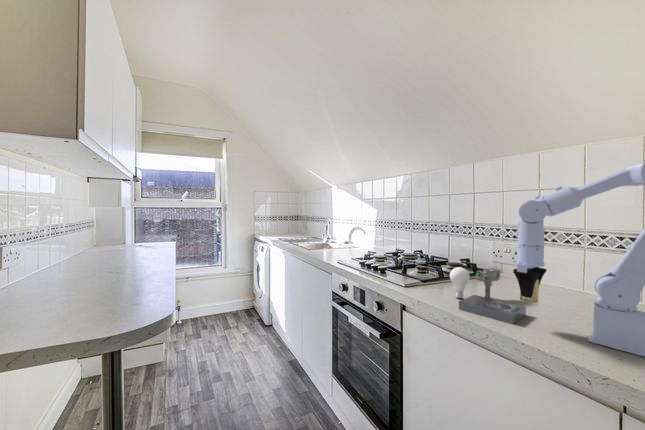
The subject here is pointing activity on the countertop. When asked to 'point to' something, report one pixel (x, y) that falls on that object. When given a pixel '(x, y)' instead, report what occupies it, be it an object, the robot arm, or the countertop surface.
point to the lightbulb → (459, 280)
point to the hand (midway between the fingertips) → (529, 295)
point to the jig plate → (493, 308)
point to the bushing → (534, 297)
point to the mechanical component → (488, 278)
